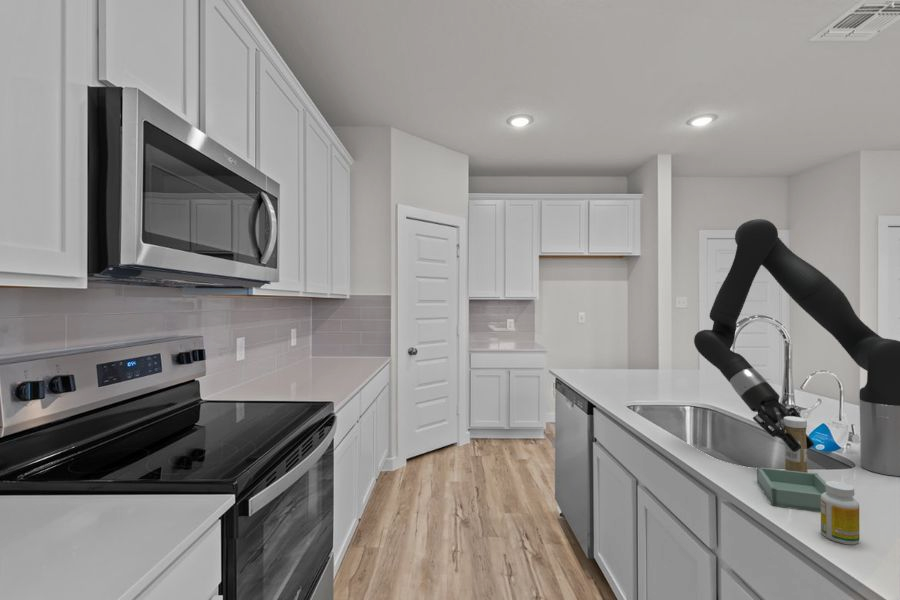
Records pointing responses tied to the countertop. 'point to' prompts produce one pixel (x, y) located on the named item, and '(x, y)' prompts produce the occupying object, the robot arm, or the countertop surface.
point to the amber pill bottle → (798, 431)
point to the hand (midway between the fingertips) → (804, 448)
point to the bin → (792, 488)
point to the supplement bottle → (840, 513)
